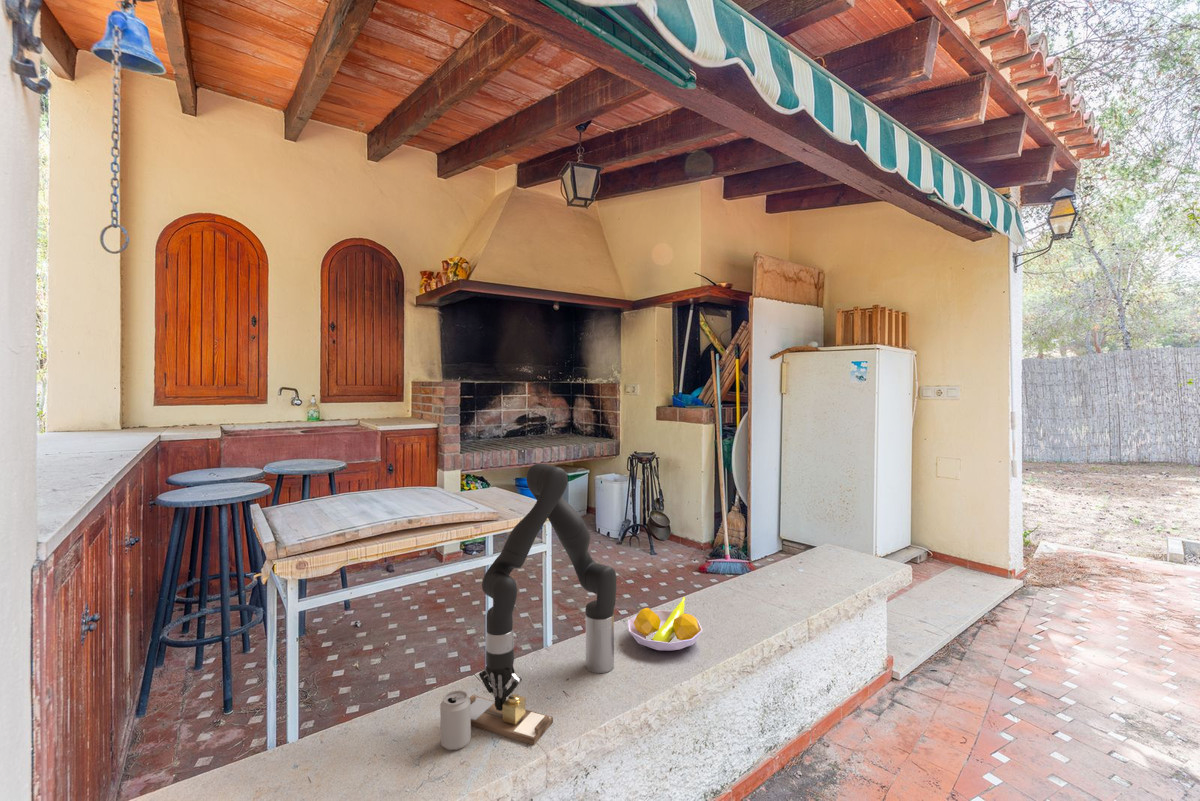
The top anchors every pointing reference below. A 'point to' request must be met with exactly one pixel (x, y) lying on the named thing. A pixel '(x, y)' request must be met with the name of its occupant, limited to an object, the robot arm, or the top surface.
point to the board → (492, 721)
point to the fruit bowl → (665, 628)
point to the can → (455, 720)
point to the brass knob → (513, 709)
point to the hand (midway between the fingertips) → (500, 708)
